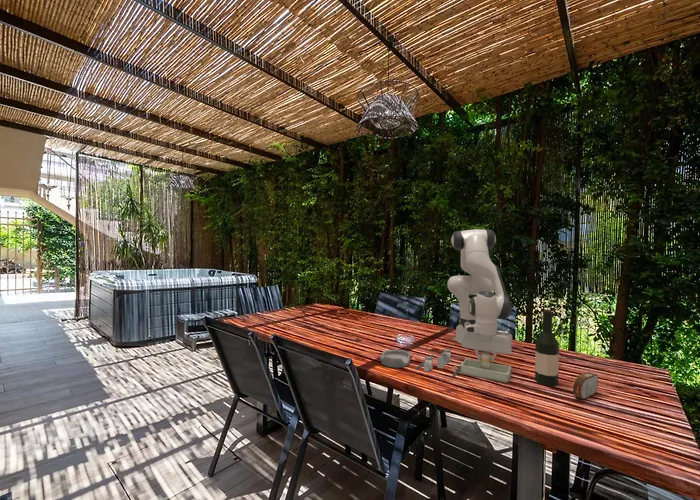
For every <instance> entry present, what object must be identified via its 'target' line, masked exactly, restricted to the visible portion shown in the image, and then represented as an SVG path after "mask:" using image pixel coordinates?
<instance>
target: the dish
mask: <svg viewBox="0 0 700 500" xmlns="http://www.w3.org/2000/svg"><path fill="white" fill-rule="evenodd" d="M412 358H413V354H412V353H410V352H409V351H406V350H403V349H389V350H388V349H387V350H386V349H385V350H384V351H382V353H381V356H380V357H379V361H380V362H381V364H382V365H383V366H385V367H388V368H393V369H394V368H397V369H400V368H406V367H407V366H409V365H410V363H411V359H412Z"/></svg>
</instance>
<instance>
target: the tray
mask: <svg viewBox="0 0 700 500" xmlns="http://www.w3.org/2000/svg"><path fill="white" fill-rule="evenodd" d="M459 366H460V371H459V374H461V375H465V376H471V377H475V378H479V379H486V380H490V381H495V382H500V383H505V384H509V381H510V379H511V377H512V366H511V365H504V364H499V363H494V362H490V369H482V368H481V360H478V359H477V360H476V359H471V358H465V359H464V360H463V361H462V362H461V363H460V365H459Z"/></svg>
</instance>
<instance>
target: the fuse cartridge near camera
mask: <svg viewBox="0 0 700 500" xmlns="http://www.w3.org/2000/svg"><path fill="white" fill-rule="evenodd" d="M432 360H433V357H431V355H426V356H424V361H425V362H426V363H429V372H430V371H432V370H433V368H432Z"/></svg>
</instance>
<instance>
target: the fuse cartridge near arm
mask: <svg viewBox="0 0 700 500" xmlns="http://www.w3.org/2000/svg"><path fill="white" fill-rule="evenodd" d="M450 352H451V349H449V348H443V353H447V355H448V363H450V362H451V360H450Z"/></svg>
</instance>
